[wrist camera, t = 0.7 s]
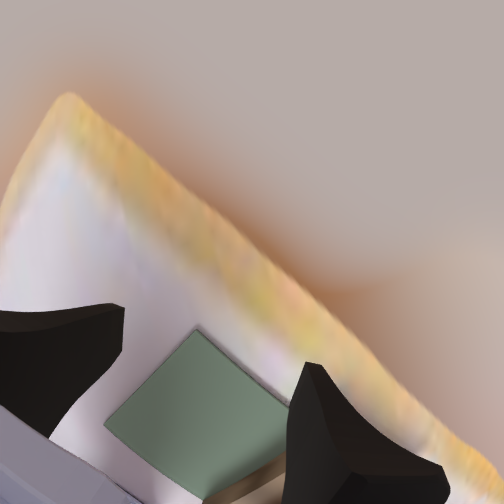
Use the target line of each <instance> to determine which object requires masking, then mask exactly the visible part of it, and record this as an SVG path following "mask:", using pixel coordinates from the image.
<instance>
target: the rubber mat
mask: <svg viewBox="0 0 504 504" xmlns="http://www.w3.org/2000/svg"><path fill="white" fill-rule="evenodd" d="M288 412H289V408H288V407H287V406H286V405H285V404H283V403H282V402H281V401H279V400H278V399H277V398H276V397H274V396H273V395H272V394H271V393H270V392H268V391H267V390H266V389H265V388H263V387H262V386H261V385H260V384H259V383H257V382H256V381H255V380H254V379H253V378H251V377H250V376H249V375H248V374H247V373H245V372H244V371H243V370H242V369H241V368H240V367H238V366H237V365H236V364H235V363H234V362H233V361H232V360H230V359H229V358H228V357H227V356H226V355H225V354H224V353H222V352H221V351H220V350H219V349H218V348H217V347H216V346H215V345H213V344H212V343H211V342H210V341H209V340H208V339H207V338H206V337H205V336H204V335H202V334H201V333H200V332H199V331H198V330H197V329H196V330H195V331H194V332H193V333H192V334H191V335H190V336H189V337H188V339H187V340H186V341H185V342H184V343H183V344H182V345H181V346H180V347H179V348H178V349H177V350H176V351H175V352H174V353H173V354H172V355H171V356H170V357H169V358H168V359H167V360H166V361H165V362H164V363H163V364H162V365H161V366H160V367H159V368H158V369H157V370H156V371H155V373H154V374H153V375H152V376H151V377H150V378H149V379H148V380H147V381H146V382H145V383H144V384H143V385H142V386H141V387H140V388H139V389H138V390H137V391H136V392H135V393H134V394H133V395H132V396H131V397H130V398H129V399H128V400H127V401H126V402H125V403H124V404H123V405H122V406H121V407H120V408H119V409H118V410H117V411H116V412H115V413H114V414H113V415H112V416H111V417H110V418H109V419H108V420H107V421H106V422H105V423H104V424H103V425H104V426H105V427H106V428H107V429H108V430H109V431H111V432H112V433H113V434H114V435H115V436H116V437H117V438H118V439H120V440H121V441H122V442H123V443H124V444H125V445H127V446H128V447H129V448H130V449H131V450H133V451H134V452H135V453H136V454H138V455H139V456H140V457H141V458H143V459H144V460H145V461H146V462H148V463H149V464H150V465H152V466H153V467H154V468H156V469H157V470H158V471H160V472H161V473H162V474H164V475H165V476H167V477H168V478H169V479H171V480H172V481H174V482H175V483H177V484H178V485H180V486H181V487H183V488H184V489H186V490H187V491H189V492H190V493H192V494H193V495H195V496H196V497H198V498H200V499H201V500H205V499H207V498H209V497H211V496H213V495H215V494H216V493H218V492H220V491H222V490H224V489H225V488H227V487H229V486H231V485H232V484H234V483H236V482H238V481H239V480H241V479H243V478H244V477H246V476H248V475H249V474H251V473H252V472H254V471H256V470H257V469H259V468H260V467H262V466H264V465H265V464H267V463H268V462H270V461H271V460H273V459H274V458H276V457H277V456H279V455H280V454H282V453H283V452H284V451H286V427H287V418H288Z"/></svg>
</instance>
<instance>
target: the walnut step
mask: <svg viewBox="0 0 504 504" xmlns="http://www.w3.org/2000/svg"><path fill="white" fill-rule="evenodd" d="M285 472H286V451H284V452H283V453H282V454H280V455H279V456H277V457H276V458H274V459H273V460H271V461H270V462H268V463H267V464H265V465H264V466H262V467H260V468H259V469H257V470H256V471H254V472H252V473H251V474H249V475H248V476H246V477H244V478H243V479H241V480H239V481H238V482H236V483H234V484H232V485H231V486H229V487H227V488H225V489H224V490H222V491H220V492H218V493H216V494H215V495H213V496H211V497H209V498H207V499H205V500H203V502H202V504H281V500H282V494H283V488H284V482H285Z"/></svg>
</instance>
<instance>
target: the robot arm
mask: <svg viewBox="0 0 504 504" xmlns="http://www.w3.org/2000/svg"><path fill="white" fill-rule="evenodd" d="M124 312H125V308H124V307H121V306H118V305H116V304H113V303H106V304H97V305H91V306H85V307H78V308H72V309H64V310H56V311H47V312H14V311H2V310H0V504H142V503H141V502H139V501H138V500H136V499H135V498H133V497H132V496H131V495H129V494H128V493H127V492H125V491H124V490H122V489H121V488H120V487H119V486H117V485H116V484H115V483H114V482H113V481H112V480H111V479H110V478H109V477H108V476H107V475H105V474H104V473H102V472H101V471H99V470H98V469H96V468H95V467H93V466H92V465H90V464H89V463H87V462H86V461H84V460H82V459H81V458H79V457H77V456H75V455H74V454H72V453H70V452H68V451H67V450H65V449H63V448H62V447H60V446H58V445H57V444H55V443H54V442H52V441H50V440H49V437H50V435H51V434H52V432H53V431H54V430H55V428H56V427H57V425H58V424H59V422H60V421H61V419H62V418H63V417H64V415H65V414H66V413H67V412H68V410H69V409H70V408H71V406H72V405H73V404H74V403H75V402H76V401H77V400H78V398H79V397H81V396H82V395H83V394H84V393H85V392H86V391H87V390H88V389H89V388H90V387H91V386H92V385H93V384H94V383H95V382H96V381H97V380H98V379H99V378H100V377H101V376H102V375H103V374H104V373H105V372H106V371H107V370H108V369H109V368H110V367H111V366H112V364H113V363H114V362H115V360H116V359H117V357H118V356H119V355H120V353H121V352H122V342H123V325H124ZM449 495H450V485H449V482H448V480H447V477H446V475H445V472H444V470H443V468H442V466H440V465H438V464H435V463H433V462H431V461H428V460H426V459H424V458H421V457H419V456H417V455H415V454H413V453H411V452H409V451H408V450H406V449H404V448H402V447H401V446H399V445H397V444H396V443H394V442H393V441H391V440H390V439H388V438H387V437H386V436H384V435H383V434H382V433H380V432H379V431H378V430H376V429H375V428H374V427H373V426H372V425H371V424H370V423H369V422H367V421H366V420H365V419H364V418H363V417H362V416H361V415H360V414H359V413H358V412H357V411H356V410H355V408H354V407H353V406H352V405H351V404H350V403H349V402H348V400H347V399H346V398H345V397H344V395H343V394H342V393H341V392H340V390H339V389H338V388H337V386H336V385H335V383H334V382H333V380H332V379H331V378H330V376H329V375H328V373H327V372H326V370H325V369H324V368H323V366H322V365H319V364H315V363H310V362H305V365H304V367H303V370H302V373H301V375H300V378H299V381H298V384H297V386H296V389H295V391H294V394H293V397H292V399H291V402H290V406H289V412H288V418H287V427H286V472H285V482H284V488H283V494H282V500H281V504H445V502H446V501H447V499H448V497H449Z"/></svg>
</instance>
